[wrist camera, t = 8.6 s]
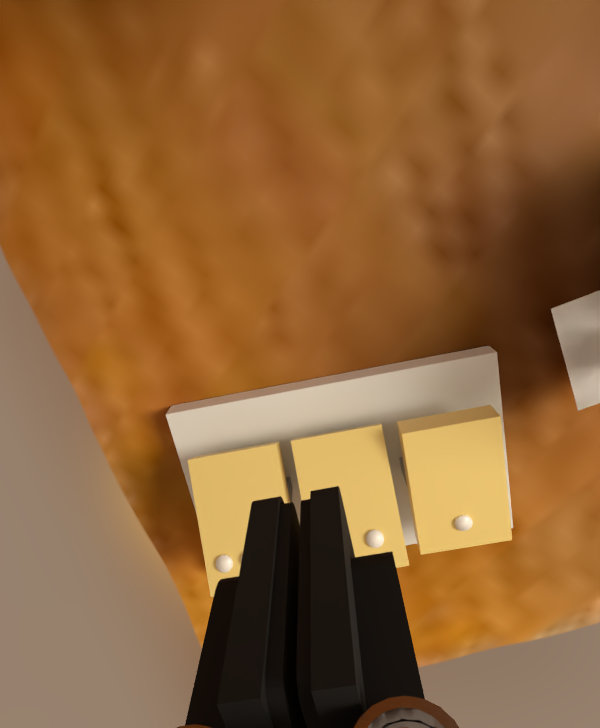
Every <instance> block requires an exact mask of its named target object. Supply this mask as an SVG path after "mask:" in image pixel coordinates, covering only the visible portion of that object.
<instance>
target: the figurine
mask: <svg viewBox="0 0 600 728" xmlns="http://www.w3.org/2000/svg"><path fill="white" fill-rule="evenodd" d="M551 312H552V315H553V319H554V323H555V327H556V330H557V334H558V338H559V341H560V345H561V349H562V352H563V356H564V360H565V364H566V367H567V371H568V375H569V378H570V382H571V386H572V390H573V393H574V397H575V401H576V404H577V408H578V410H581V409H584V408H587V407H590V406H593V405H595V404H598V403H600V290H599V291H596V292H594V293H591V294H589V295H586V296H583V297H581V298H578V299H575V300H573V301H570V302H568V303H565V304H562V305H560V306H557V307H554V308H552V309H551Z"/></svg>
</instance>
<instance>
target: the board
mask: <svg viewBox="0 0 600 728" xmlns="http://www.w3.org/2000/svg"><path fill="white" fill-rule="evenodd" d="M486 405H491V406H492V407H493V408H494V409H495V410H496V412H497V413H498V414H499V415H500V416H501V426H502V436H503V447H504V458H505V469H506V479H507V490H508V501H509V511H510V522H511V528H513V521H512V510H511V499H510V489H509V478H508V467H507V456H506V445H505V434H504V423H503V412H502V401H501V391H500V380H499V369H498V358H497V352H496V351H495V350H494V349H492V348H491V347H490V346H484V347H479V348H473V349H468V350H463V351H457V352H452V353H447V354H442V355H436V356H431V357H426V358H421V359H415V360H410V361H405V362H399V363H394V364H389V365H384V366H378V367H373V368H368V369H362V370H357V371H352V372H347V373H341V374H336V375H331V376H325V377H320V378H315V379H310V380H304V381H299V382H294V383H289V384H283V385H278V386H273V387H267V388H262V389H257V390H252V391H246V392H241V393H236V394H230V395H225V396H220V397H215V398H209V399H204V400H199V401H194V402H188V403H183V404H178V405H172V406H171V407H170V409H169V410H168V412H167V413H166V417H167V421H168V424H169V427H170V430H171V434H172V437H173V440H174V443H175V446H176V450H177V453H178V456H179V459H180V462H181V466H182V469H183V472H184V475H185V479H186V482H187V485H188V488H189V491H190V495H191V498H192V501H193V504H194V508H195V511H196V507H195V501H194V495H193V489H192V483H191V477H190V471H189V466H188V460H189V459H191V458H193V457H195V456H201V455H207V454H212V453H218V452H223V451H229V450H234V449H240V448H245V447H251V446H256V445H262V444H267V443H273V442H278V441H279V443H280V448H281V454H282V459H283V465H284V470H285V476H286V481H287V487H288V492H289V498H290V502H293V503H294V505H295V509H296V512H297V516H298V520H299V524H300V506H301V495H300V489H299V484H298V478H297V473H296V467H295V462H294V456H293V451H292V445H291V440H293V439H296V438H301V437H307V436H312V435H318V434H323V433H329V432H334V431H340V430H345V429H351V428H356V427H362V426H367V425H373V424H378V423H380V424H381V425H382V429H383V435H384V440H385V445H386V450H387V455H388V460H389V465H390V470H391V475H392V480H393V485H394V490H395V495H396V500H397V506H398V511H399V516H400V521H401V526H402V531H403V536H404V541H405V545H411V544H417V541H416V537H415V531H414V525H413V519H412V512H411V506H410V500H409V494H408V488H407V481H406V475H405V469H404V463H403V457H402V450H401V444H400V438H399V432H398V426H397V422H398V421H404V420H409V419H415V418H420V417H426V416H431V415H437V414H442V413H448V412H453V411H459V410H464V409H470V408H475V407H481V406H486ZM196 514H197V513H196Z"/></svg>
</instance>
